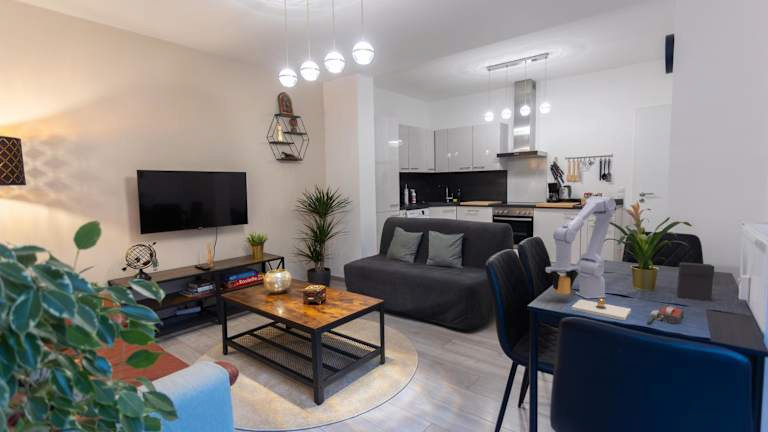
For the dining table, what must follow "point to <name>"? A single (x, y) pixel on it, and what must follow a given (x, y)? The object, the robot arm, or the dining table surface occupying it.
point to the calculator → (695, 281)
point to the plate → (601, 309)
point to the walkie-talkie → (667, 315)
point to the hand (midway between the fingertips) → (562, 288)
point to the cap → (563, 285)
